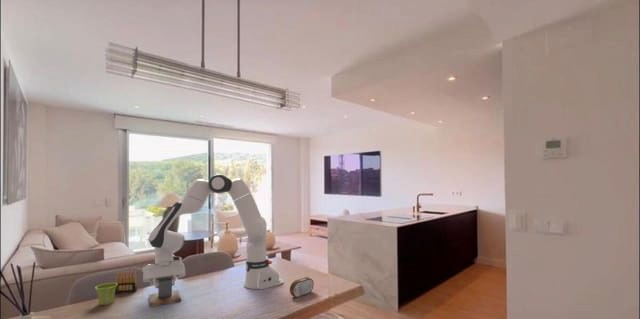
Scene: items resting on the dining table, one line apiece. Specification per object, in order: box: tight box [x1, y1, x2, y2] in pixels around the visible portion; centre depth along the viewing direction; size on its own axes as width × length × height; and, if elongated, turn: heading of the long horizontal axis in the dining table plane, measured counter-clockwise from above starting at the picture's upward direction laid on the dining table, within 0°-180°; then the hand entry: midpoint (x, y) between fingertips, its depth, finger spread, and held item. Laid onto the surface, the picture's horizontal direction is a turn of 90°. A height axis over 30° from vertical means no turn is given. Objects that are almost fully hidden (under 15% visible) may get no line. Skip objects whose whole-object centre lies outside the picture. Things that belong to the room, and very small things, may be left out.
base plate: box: [148, 289, 182, 308], centre depth 168 cm, size 14×14×2 cm
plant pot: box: [94, 282, 118, 306], centre depth 164 cm, size 9×9×9 cm
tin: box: [289, 276, 315, 298], centre depth 172 cm, size 15×3×8 cm, turn 134°
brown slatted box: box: [115, 269, 138, 294], centre depth 180 cm, size 11×2×12 cm, turn 99°
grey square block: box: [157, 278, 173, 298], centre depth 168 cm, size 6×6×8 cm
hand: (165, 286), depth 168 cm, fingers open, 6 cm apart
